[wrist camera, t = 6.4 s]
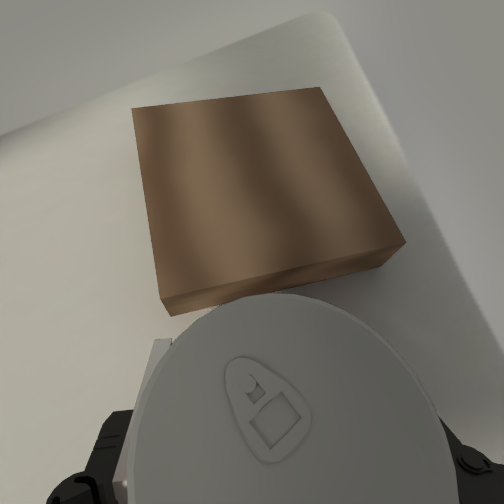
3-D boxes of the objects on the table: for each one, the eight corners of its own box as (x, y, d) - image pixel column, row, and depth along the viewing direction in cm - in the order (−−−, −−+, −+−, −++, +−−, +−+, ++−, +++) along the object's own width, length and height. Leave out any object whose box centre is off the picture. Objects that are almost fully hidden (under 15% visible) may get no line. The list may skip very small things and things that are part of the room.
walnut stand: (170, 316, 20) (160, 298, 16) (142, 144, 26) (131, 108, 23) (381, 265, 22) (406, 242, 19) (309, 121, 29) (319, 86, 26)
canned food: (236, 327, 19) (248, 242, 10) (349, 409, 18) (503, 407, 8) (150, 447, 16) (36, 503, 6) (279, 560, 15) (389, 862, 5)
